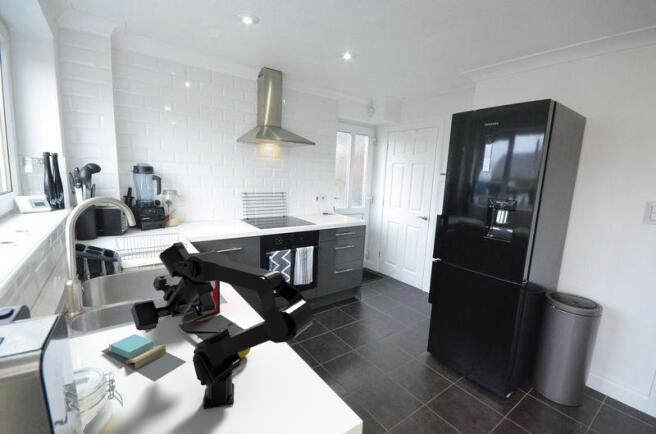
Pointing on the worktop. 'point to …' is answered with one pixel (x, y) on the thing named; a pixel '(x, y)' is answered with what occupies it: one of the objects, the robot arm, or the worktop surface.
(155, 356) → the ramp
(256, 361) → the worktop surface
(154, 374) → the mat
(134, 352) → the card deck
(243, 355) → the lemon
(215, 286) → the cleaning product box
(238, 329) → the picture frame
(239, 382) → the worktop surface
